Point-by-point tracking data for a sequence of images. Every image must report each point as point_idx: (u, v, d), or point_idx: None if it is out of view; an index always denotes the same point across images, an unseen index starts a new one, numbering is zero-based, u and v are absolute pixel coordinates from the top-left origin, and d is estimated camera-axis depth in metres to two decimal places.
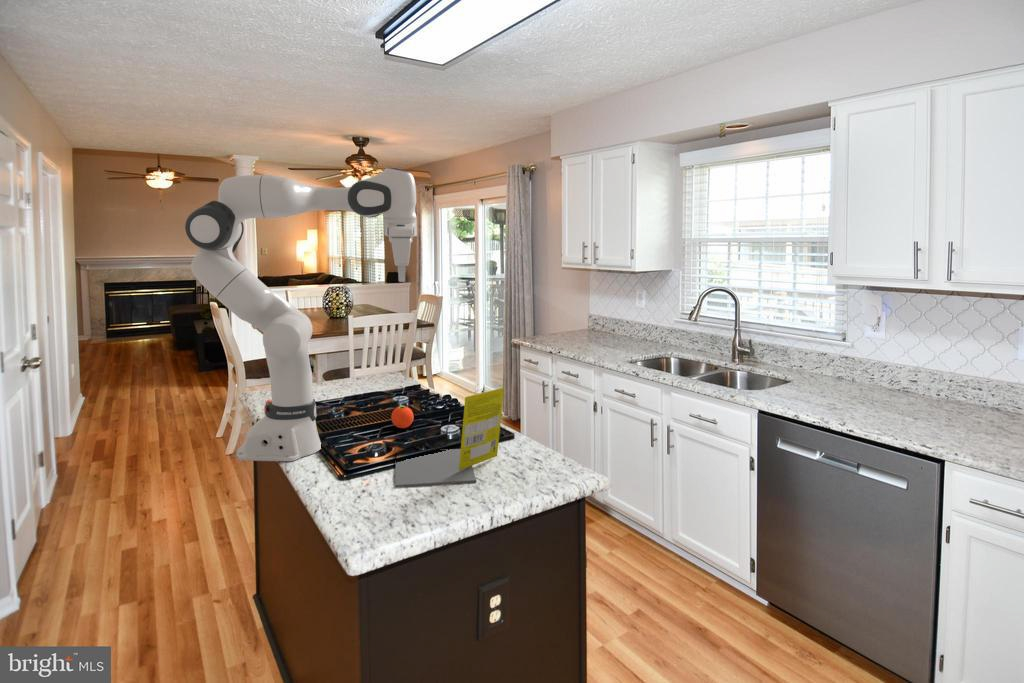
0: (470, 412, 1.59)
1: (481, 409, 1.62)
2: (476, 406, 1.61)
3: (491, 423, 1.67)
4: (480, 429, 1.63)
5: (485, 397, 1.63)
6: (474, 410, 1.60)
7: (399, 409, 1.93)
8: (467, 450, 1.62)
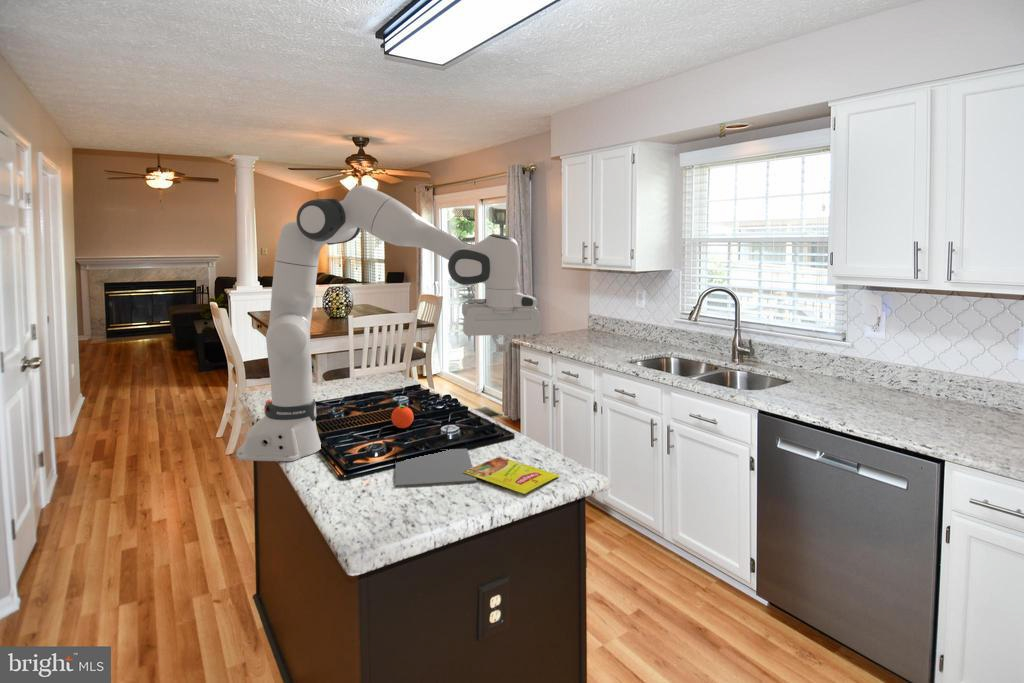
0: None
1: None
2: None
3: None
4: None
5: None
6: None
7: (399, 409, 1.93)
8: None
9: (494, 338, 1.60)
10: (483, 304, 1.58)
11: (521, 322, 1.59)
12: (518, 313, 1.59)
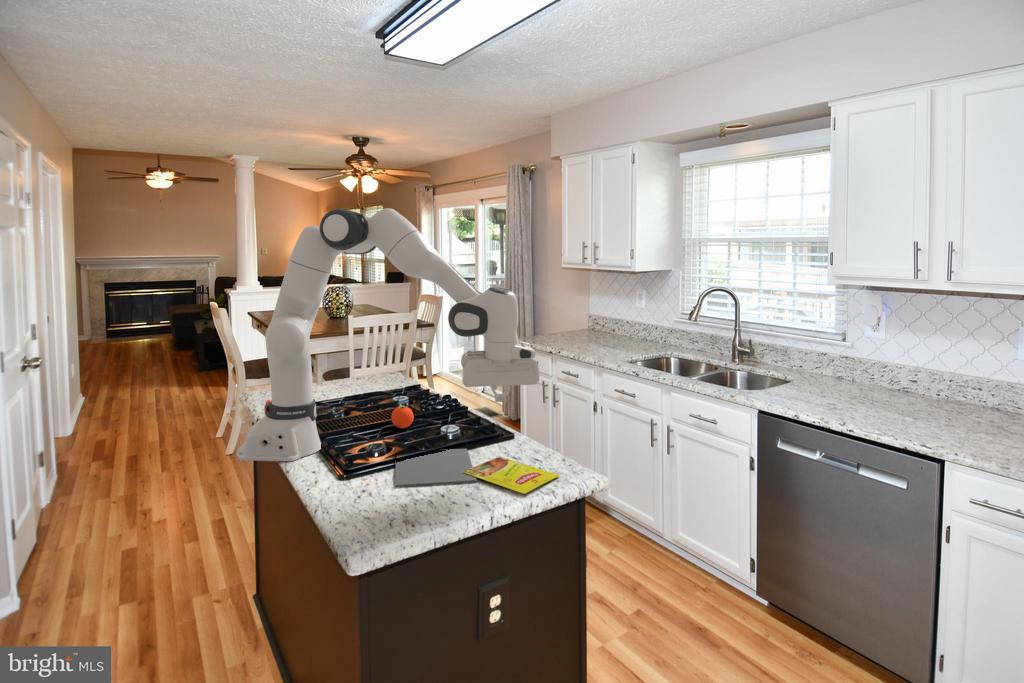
0: None
1: None
2: None
3: None
4: None
5: None
6: None
7: (399, 409, 1.93)
8: None
9: (493, 389, 1.62)
10: (482, 356, 1.61)
11: (519, 373, 1.62)
12: (516, 364, 1.61)
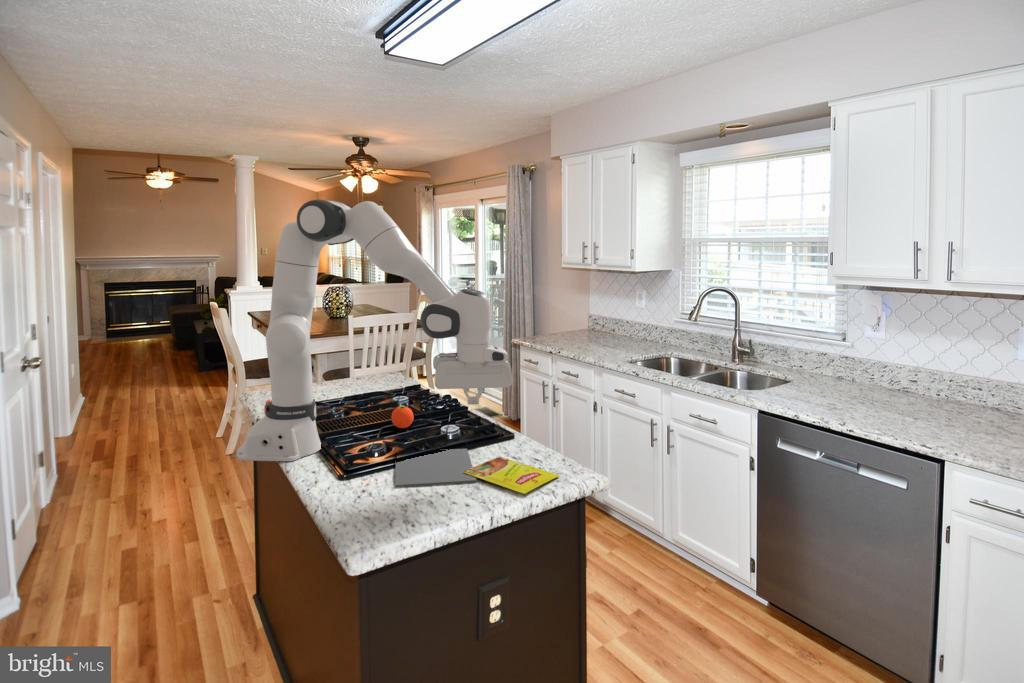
0: None
1: None
2: None
3: None
4: None
5: None
6: None
7: (399, 409, 1.93)
8: None
9: (465, 391, 1.61)
10: (454, 358, 1.60)
11: (492, 376, 1.61)
12: (489, 367, 1.60)
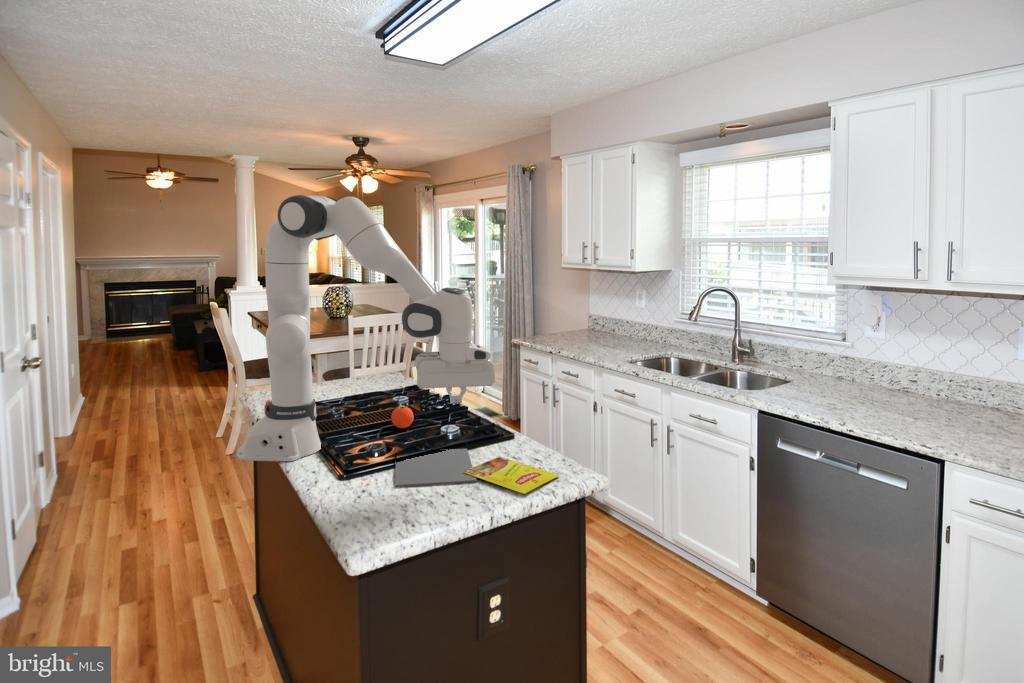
0: None
1: None
2: None
3: None
4: None
5: None
6: None
7: (399, 409, 1.93)
8: None
9: (448, 390, 1.60)
10: (436, 357, 1.59)
11: (475, 374, 1.60)
12: (471, 366, 1.59)
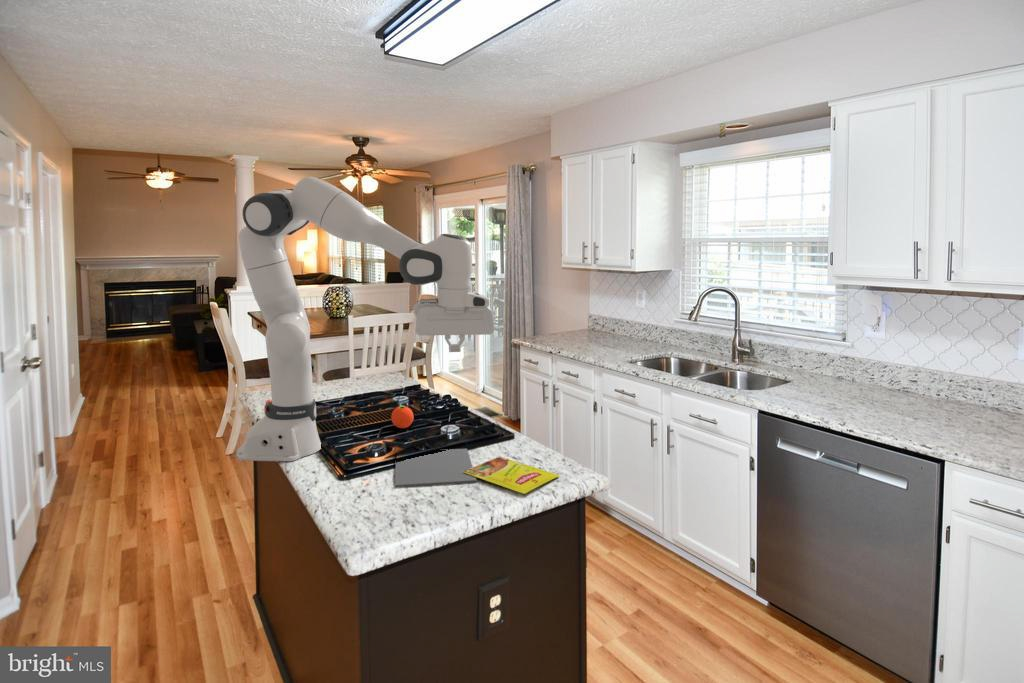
0: None
1: None
2: None
3: None
4: None
5: None
6: None
7: (399, 409, 1.93)
8: None
9: (446, 338, 1.59)
10: (435, 304, 1.57)
11: (473, 322, 1.59)
12: (470, 313, 1.58)
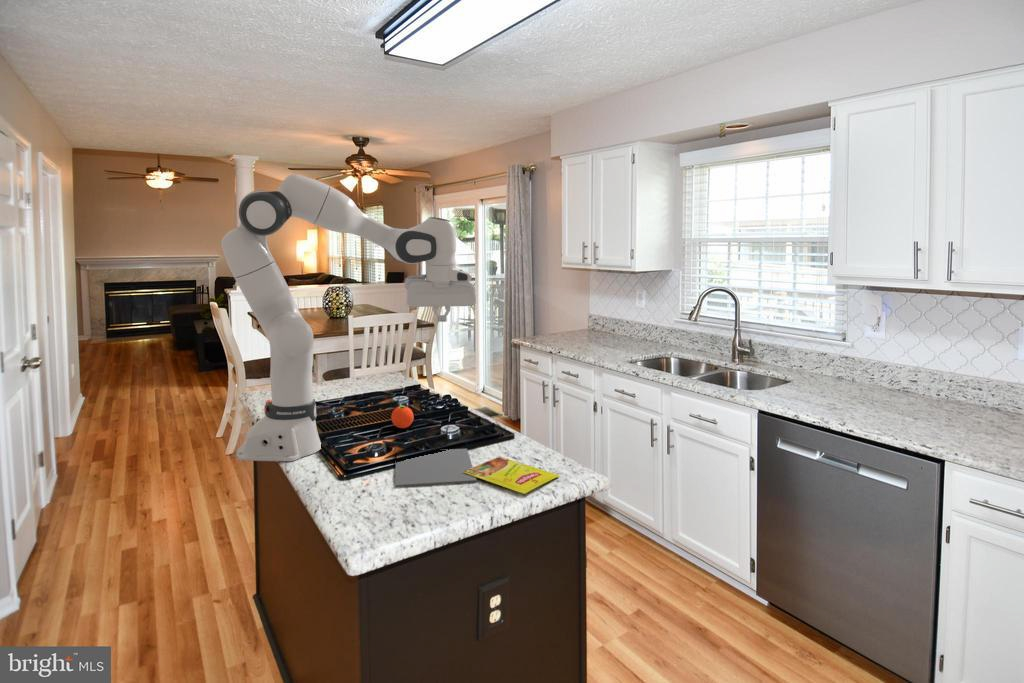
0: None
1: None
2: None
3: None
4: None
5: None
6: None
7: (399, 409, 1.93)
8: None
9: (434, 309, 1.81)
10: (424, 279, 1.79)
11: (458, 295, 1.80)
12: (455, 287, 1.80)
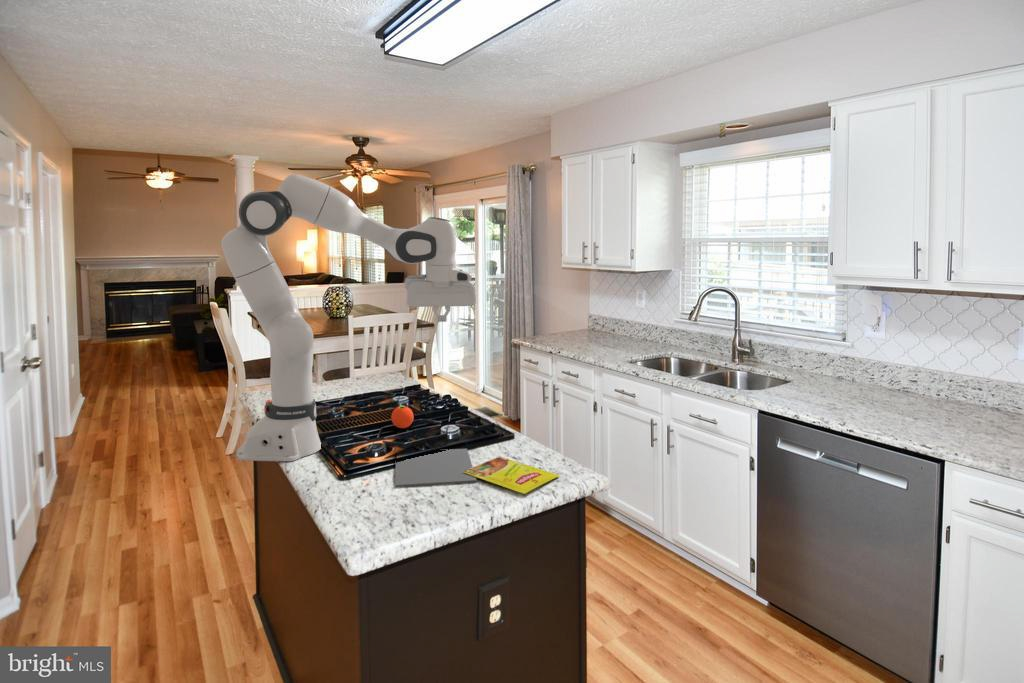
0: None
1: None
2: None
3: None
4: None
5: None
6: None
7: (399, 409, 1.93)
8: None
9: (434, 309, 1.81)
10: (424, 279, 1.79)
11: (458, 295, 1.80)
12: (455, 287, 1.80)
